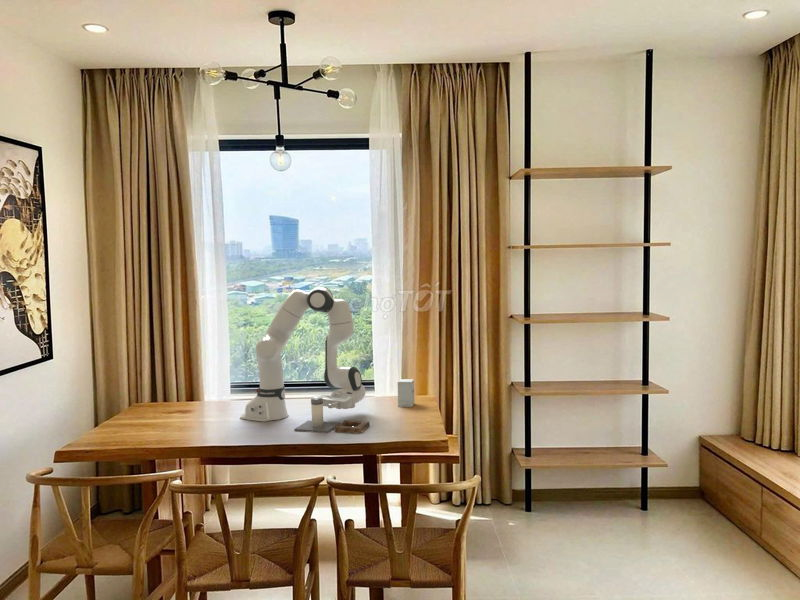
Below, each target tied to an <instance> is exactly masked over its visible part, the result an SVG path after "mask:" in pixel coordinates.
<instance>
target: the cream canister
mask: <svg viewBox="0 0 800 600" xmlns="http://www.w3.org/2000/svg"><path fill="white" fill-rule="evenodd" d="M310 404H311V405H310V406H311V407H310V408H311V421H312V427H322V426H323V422H324V406H323V398H312V397H311V398H310Z"/></svg>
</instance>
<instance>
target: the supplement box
mask: <svg viewBox="0 0 800 600" xmlns="http://www.w3.org/2000/svg"><path fill="white" fill-rule="evenodd" d="M414 404H415V379H414V378H413V379H412V378H409V379H407V378H405V379H404V378H401V379H399V380H398V381H397V407H398V408H399V407H400V408H413V406H414Z"/></svg>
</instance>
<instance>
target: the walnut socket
mask: <svg viewBox="0 0 800 600" xmlns="http://www.w3.org/2000/svg"><path fill="white" fill-rule="evenodd" d="M352 426H354V427H352ZM368 426H369V427H370V421H366V420H365V421H364V420H345V419H344V420H343V421H342V422H340V424H339V425H337V426H336V427H335V429H334V432H335V431H336V432H335V433H347V432H350V433H352V434H361V433H363V432H364V431H365V430H366V429H368V428H369V427H368ZM367 427H368V428H367ZM362 431H363V432H362Z"/></svg>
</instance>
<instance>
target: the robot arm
mask: <svg viewBox="0 0 800 600" xmlns="http://www.w3.org/2000/svg"><path fill="white" fill-rule="evenodd" d="M308 309H311V310H313V311H315V312H320V313H325V314H326V315H327V317H328V324H329V332H328V335H327V336H326V338H325V343H324V344H325V346H324V348H325V350H324V352H325V353H324V354H325V355H324V356H325V357H324V359H325V362H324V363H325V364H324V365H325V366H324V367H325V368H324V375H323V380H324V383H325V385H326V386H327V387H328V388H329V389H335V390H333V391H332V392H331V394H318V395H314V396H312V397H311V399H312V398H323V407H328V409H333V408H334V409H338V410H342V409H343V410H349V409H354V408H356V404H358V403H360V402H361V401H362V400H364V399H365V396H366V387H365V386H364V385H363V384H362V383H363V380H362V379H363V378H362V373H361V371H360V370H359V369H358V368H357V367H356V366H338V348H339V346H340V345H342V344H343V343H345V342H347V341H348V340H350V338H351V337H352V336H353V334H354V321H353V316H352V311H351V308H350V305H349V302H347V300H345V299H340V298H339V299H337V298H334V296H333V293H332V291H331V289H329V288H327V287H325V286H317V287H315V288H313V289H312V290H310V291H309V292H306V291H304V290H301V289H295V290H293V291H291V292H290V294H288V296H286V299H285V300H284V301H283V303H281V306H280V308H279V309H278V311H277V312H276V314H275V316H274V318H273V319H272V320H271V322H270V324H269V327H268V328H267V331H266V332H265V334H264V335H263V337H262V338H261V339H259V340H258V341H257V343H256V346H255V352H256V353H255V354H256V359H257V360H256V362H257V366H258V373H259V387H258V388H257V389H255V391H254V393H257V394H256V396H255V397H253V398H252V399H251V400H250V401H249V402H248V403H246V405H245V409H244V413H242V414H241V415H240V419H241V420H248V421H254V422H255V421H256V422H270V421H276V420H282V419H285V418H287V417H289V413H288V409H287V405H286V388H285V387H286V386H285V385H284V384H285V383H284V381H285V380H284V367H283V364H282V356H281V355H282V352H283V350H284V349H285V348H286V346H287V343H288V342H289V340H290V338H291V336H292V335H293V332H295V330H296V328H297V326H298V325H299V324H300V322H301V319H303V316H304V315H305V313H306V311H307V310H308Z"/></svg>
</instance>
